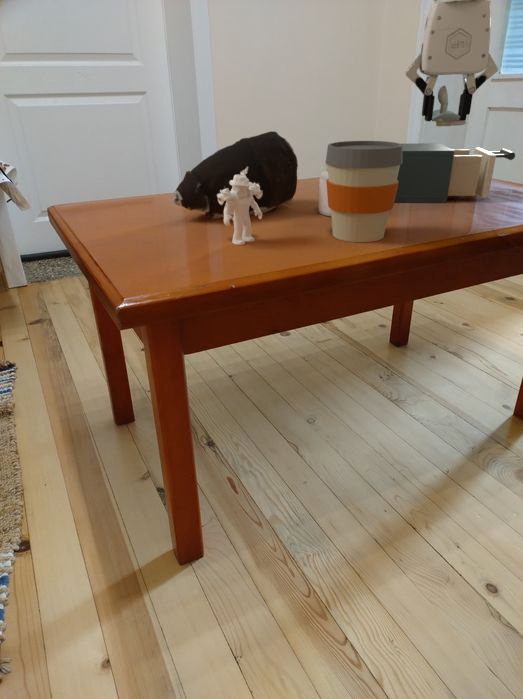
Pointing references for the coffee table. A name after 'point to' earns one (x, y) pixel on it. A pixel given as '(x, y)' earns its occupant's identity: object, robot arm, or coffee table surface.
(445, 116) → the pacifier
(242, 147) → the dark brown rounded shape
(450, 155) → the cabinet
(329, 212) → the eye dropper bottle
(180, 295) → the coffee table surface
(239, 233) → the flower shoulder figurine
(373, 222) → the reusable coffee cup
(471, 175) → the drawer
